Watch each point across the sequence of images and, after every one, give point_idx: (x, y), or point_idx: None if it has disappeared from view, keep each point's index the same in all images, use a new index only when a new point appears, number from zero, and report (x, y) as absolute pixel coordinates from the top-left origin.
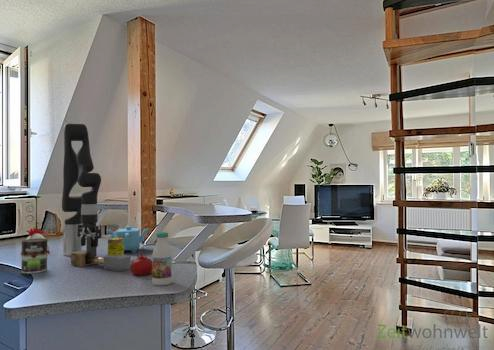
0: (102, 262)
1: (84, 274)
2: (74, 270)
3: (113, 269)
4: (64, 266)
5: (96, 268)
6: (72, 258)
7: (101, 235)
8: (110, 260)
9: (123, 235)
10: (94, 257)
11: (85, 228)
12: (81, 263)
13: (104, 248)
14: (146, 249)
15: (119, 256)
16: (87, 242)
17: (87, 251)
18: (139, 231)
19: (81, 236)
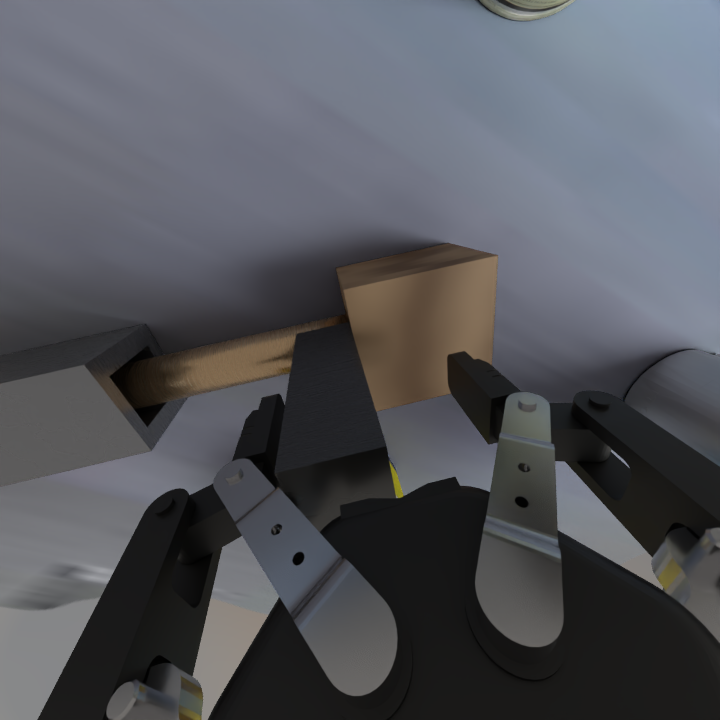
0: (180, 352)
1: (27, 131)
2: (256, 162)
3: (46, 347)
4: (453, 189)
5: (206, 304)
6: (454, 253)
7: (178, 576)
8: (22, 370)
9: None
10: (284, 353)
11: (479, 607)
12: (344, 270)
13: (604, 508)
14: None
15: (6, 443)
16: (351, 393)
17: (340, 343)
18: None
19: (515, 415)
